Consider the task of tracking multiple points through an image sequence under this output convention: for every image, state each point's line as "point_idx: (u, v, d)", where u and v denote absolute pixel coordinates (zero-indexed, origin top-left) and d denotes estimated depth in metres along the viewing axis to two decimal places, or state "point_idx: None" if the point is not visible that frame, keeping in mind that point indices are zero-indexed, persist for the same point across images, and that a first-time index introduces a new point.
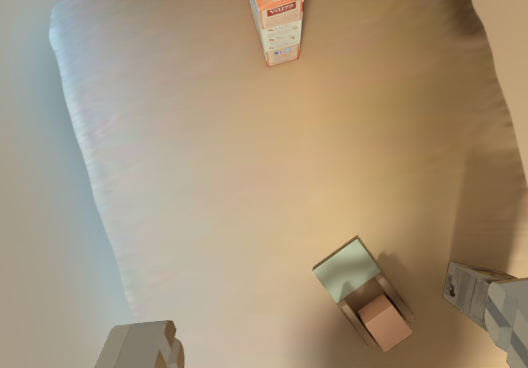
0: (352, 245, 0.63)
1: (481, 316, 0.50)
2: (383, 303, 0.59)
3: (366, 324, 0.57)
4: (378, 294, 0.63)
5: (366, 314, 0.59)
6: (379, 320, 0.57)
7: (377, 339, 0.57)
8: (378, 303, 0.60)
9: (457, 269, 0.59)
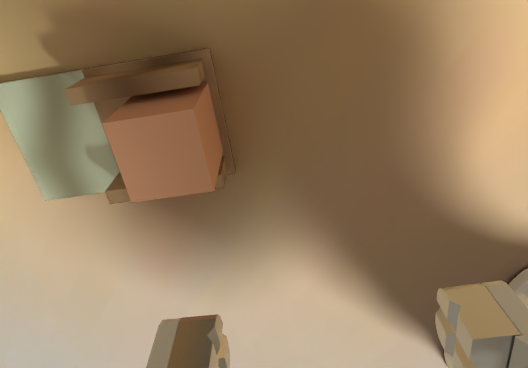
0: (3, 102, 0.26)
1: None
2: None
3: (132, 199, 0.23)
4: None
5: None
6: (132, 167, 0.22)
7: (177, 193, 0.23)
8: None
9: None
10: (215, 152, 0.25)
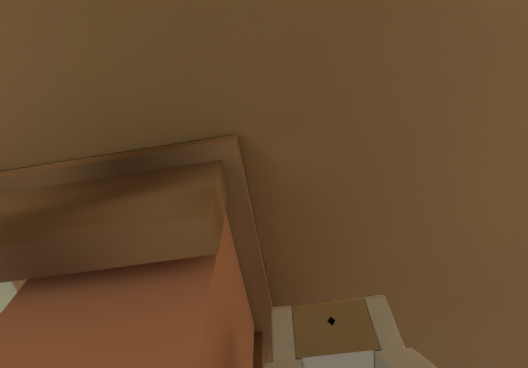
0: None
1: None
2: None
3: None
4: None
5: None
6: None
7: None
8: None
9: None
10: None
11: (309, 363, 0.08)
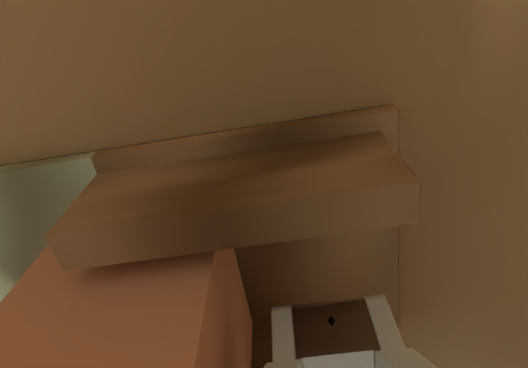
0: None
1: None
2: None
3: None
4: None
5: None
6: None
7: None
8: None
9: None
10: None
11: (309, 363, 0.08)
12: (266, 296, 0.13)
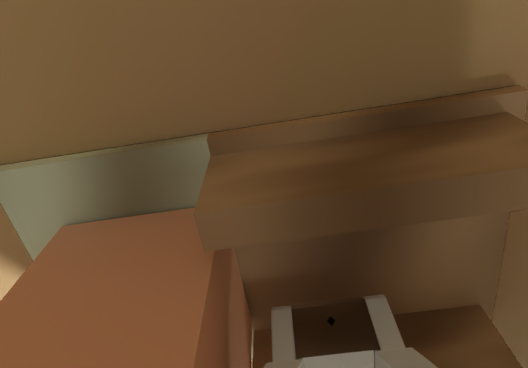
0: (17, 208, 0.12)
1: None
2: None
3: None
4: None
5: None
6: None
7: None
8: None
9: None
10: None
11: (309, 363, 0.08)
12: (363, 284, 0.13)
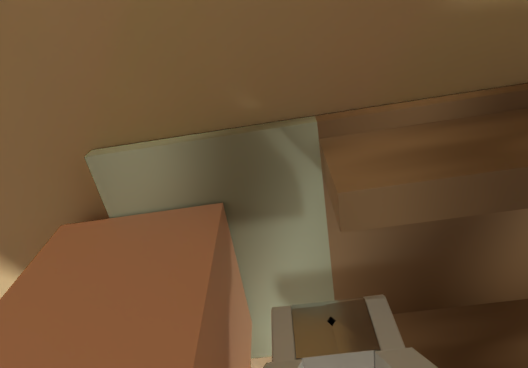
0: (114, 193, 0.11)
1: None
2: None
3: None
4: None
5: None
6: None
7: None
8: None
9: None
10: None
11: (309, 363, 0.08)
12: (455, 273, 0.13)
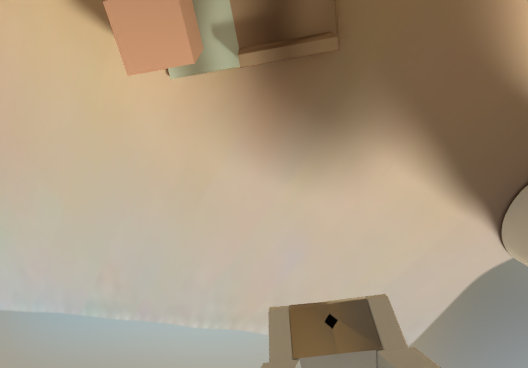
0: None
1: None
2: None
3: (128, 72, 0.28)
4: None
5: None
6: (127, 42, 0.27)
7: (164, 65, 0.28)
8: None
9: None
10: (196, 40, 0.30)
11: (306, 363, 0.08)
12: (282, 20, 0.32)
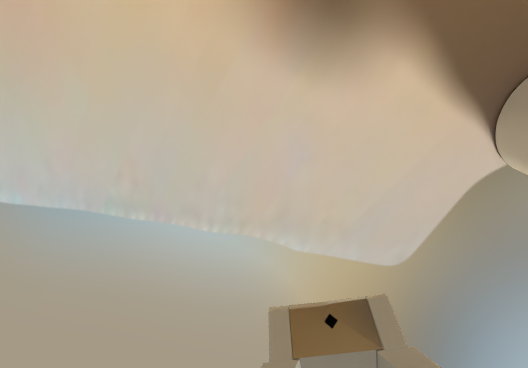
0: None
1: None
2: None
3: None
4: None
5: None
6: None
7: None
8: None
9: None
10: None
11: (306, 363, 0.08)
12: None
